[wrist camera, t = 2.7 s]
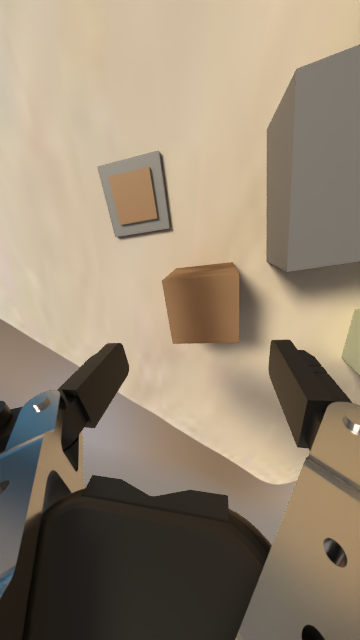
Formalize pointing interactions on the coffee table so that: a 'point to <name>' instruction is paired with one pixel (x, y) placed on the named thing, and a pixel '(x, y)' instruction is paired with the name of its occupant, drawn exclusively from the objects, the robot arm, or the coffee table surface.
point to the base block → (316, 167)
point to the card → (135, 194)
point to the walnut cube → (203, 304)
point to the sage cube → (353, 343)
